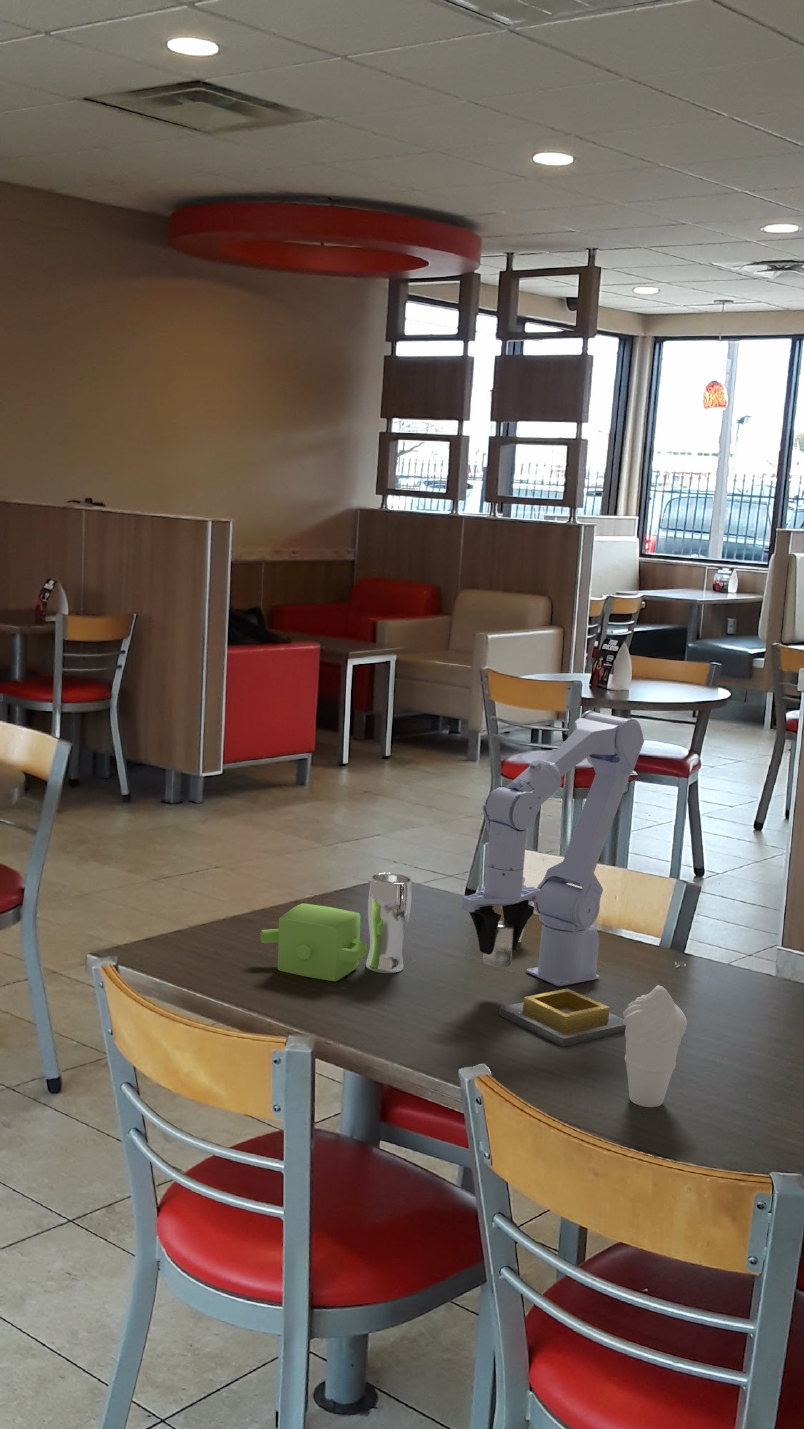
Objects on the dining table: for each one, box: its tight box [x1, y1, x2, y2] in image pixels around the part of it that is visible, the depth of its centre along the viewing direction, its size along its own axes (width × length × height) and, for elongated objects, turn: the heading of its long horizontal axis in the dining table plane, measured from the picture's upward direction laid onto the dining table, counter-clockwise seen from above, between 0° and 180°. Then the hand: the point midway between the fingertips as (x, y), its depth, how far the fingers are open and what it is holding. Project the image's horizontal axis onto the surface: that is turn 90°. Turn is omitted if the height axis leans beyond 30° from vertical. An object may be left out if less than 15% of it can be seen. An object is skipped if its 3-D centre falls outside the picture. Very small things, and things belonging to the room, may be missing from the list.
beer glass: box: [365, 872, 413, 974], centre depth 231 cm, size 7×7×15 cm
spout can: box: [482, 920, 514, 968], centre depth 221 cm, size 4×4×8 cm
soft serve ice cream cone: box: [622, 984, 688, 1108], centre depth 185 cm, size 8×8×16 cm
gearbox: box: [260, 902, 369, 982], centre depth 227 cm, size 18×10×10 cm, turn 67°
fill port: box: [498, 987, 626, 1048], centre depth 213 cm, size 14×14×3 cm
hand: (497, 950), depth 222 cm, fingers closed on spout can, 4 cm apart
